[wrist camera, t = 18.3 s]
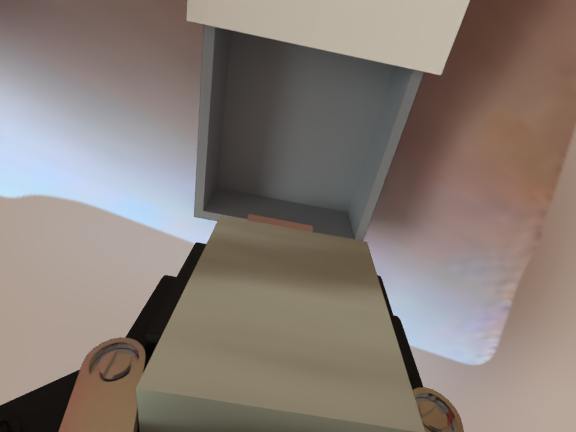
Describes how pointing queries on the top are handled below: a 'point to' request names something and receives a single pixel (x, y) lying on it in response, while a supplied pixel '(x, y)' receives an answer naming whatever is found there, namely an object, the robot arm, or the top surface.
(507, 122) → the top surface
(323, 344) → the sage block
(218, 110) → the tray
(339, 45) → the white drawer housing
